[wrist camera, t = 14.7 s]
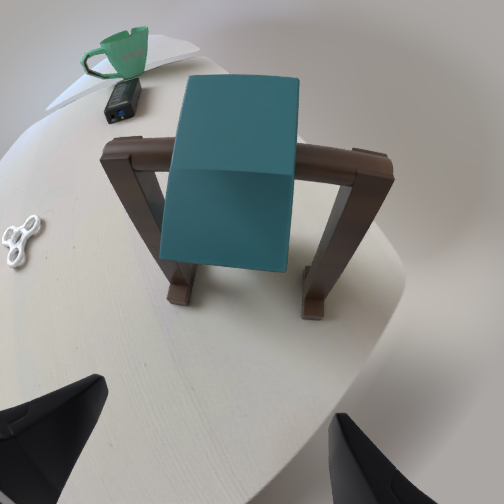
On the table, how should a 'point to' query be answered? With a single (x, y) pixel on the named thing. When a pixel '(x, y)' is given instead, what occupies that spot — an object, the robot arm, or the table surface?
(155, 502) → the table surface
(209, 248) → the teal angular block
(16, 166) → the table surface
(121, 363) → the table surface
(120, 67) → the mug
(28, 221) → the fidget spinner
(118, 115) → the multiport hub
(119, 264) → the table surface
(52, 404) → the robot arm
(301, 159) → the rack
